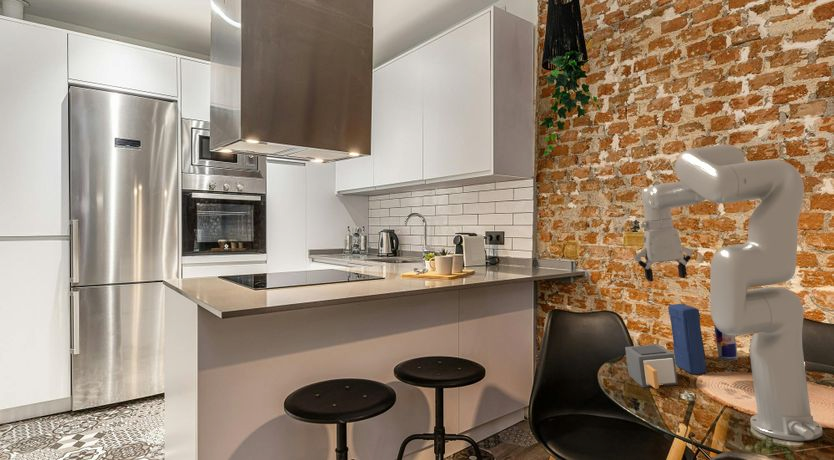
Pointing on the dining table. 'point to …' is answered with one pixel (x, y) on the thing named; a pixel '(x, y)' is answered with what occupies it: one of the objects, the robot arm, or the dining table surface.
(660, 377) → the white square panel
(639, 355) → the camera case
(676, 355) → the electronic device
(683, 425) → the dining table surface
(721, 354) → the energy drink
